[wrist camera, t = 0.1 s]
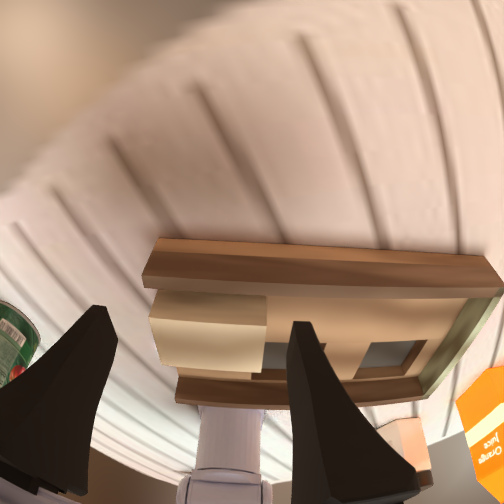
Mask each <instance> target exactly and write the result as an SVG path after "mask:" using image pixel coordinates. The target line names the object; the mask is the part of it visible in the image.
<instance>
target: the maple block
mask: <svg viewBox="0 0 504 504" xmlns="http://www.w3.org/2000/svg"><path fill="white" fill-rule="evenodd" d="M148 318H149V322H150V326H151V329H152V333H153V337H154V340H155V344H156V347H157V351H158V354H159V358H160V361H161V364H162V365H168V366H176V367H186V368H196V369H208V370H221V371H236V372H257V373H261V369H262V361H263V353H264V344H265V336H266V328H267V307H266V296H262V295H242V294H224V293H208V292H192V291H178V290H165V289H158V291H157V294H156V297H155V300H154V303H153V305H152V308H151V311H150V314H149V317H148Z"/></svg>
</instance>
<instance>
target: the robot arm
mask: <svg viewBox="0 0 504 504" xmlns="http://www.w3.org/2000/svg"><path fill="white" fill-rule="evenodd" d="M117 343H118V338H117V335H116V332H115V330H114V327H113V324H112V322H111V319H110V316H109V313H108V311H107V308H106V306H99V305H92V306H91V307H90V308H89V309H88V310H87V311H86V312H85V313H84V314H83V315H82V316H81V317H80V318H79V319H78V320H77V321H76V322H75V324H74V325H73V326H72V327H71V328H70V329H69V330H68V331H67V332H66V333H65V334H64V335H63V336H62V337H61V338H60V339H59V340H58V341H57V342H56V343H55V344H54V345H53V346H52V347H51V348H50V349H49V350H48V351H47V352H46V353H45V354H44V355H43V356H42V357H40V358H39V359H38V360H37V361H36V362H35V363H34V364H33V365H31V366H30V367H29V368H28V369H26V370H25V371H24V372H23V373H21V374H20V375H19V376H17V377H16V378H14V379H13V380H12V381H10V382H9V383H7V384H6V385H5V386H3V387H1V388H0V504H81V503H78V502H75V501H72V500H70V499H67V498H65V497H62V496H60V495H57V494H58V491H59V492H61V493H64V494H66V492H67V491H68V492H70V493H73V494H76V495H79V496H84V495H86V494H87V493H88V487H87V486H88V461H89V450H90V443H91V436H92V430H93V425H94V419H95V415H96V411H97V407H98V404H99V401H100V398H101V395H102V392H103V389H104V387H105V384H106V381H107V378H108V375H109V372H110V370H111V367H112V364H113V361H114V356H115V352H116V348H117ZM286 379H287V388H288V396H289V405H290V413H291V422H292V433H293V471H292V498H291V504H404V503H403V501H405V500H407V499H409V498H411V497H414V496H416V495H417V494H419V492H420V491H421V488H420V482H419V478H418V475H417V472H416V469H415V467H413V466H412V465H411V464H410V463H409V462H408V461H406V460H405V459H404V458H403V457H402V456H401V455H400V454H398V453H397V452H396V451H395V450H394V449H393V448H392V447H391V446H390V445H389V444H388V443H387V442H386V441H385V440H384V439H383V437H382V436H381V435H380V434H379V433H378V432H377V431H376V430H375V429H374V427H373V426H372V425H371V424H370V423H369V422H368V420H367V419H366V418H365V417H364V415H363V414H362V413H361V411H360V410H359V409H358V407H357V406H356V405H355V403H354V402H353V400H352V399H351V397H350V396H349V394H348V393H347V391H346V390H345V388H344V387H343V385H342V383H341V382H340V380H339V378H338V377H337V375H336V373H335V371H334V370H333V368H332V366H331V364H330V362H329V360H328V358H327V356H326V354H325V352H324V350H323V348H322V346H321V344H320V342H319V340H318V337H317V335H316V333H315V330H314V328H313V325H312V323H311V322H310V321H293V325H292V330H291V334H290V339H289V344H288V348H287V353H286ZM197 406H198V410H199V415H200V419H201V424H200V432H199V441H198V449H197V458H196V466H195V470H192V471H191V476H190V475H187V476H185V477H184V478H183V479H182V480H181V481H180V483H179V486H178V490H177V497H176V504H273V496H272V495H273V493H272V486H271V485H270V484H269V483H268V481H266V480H262V483H261V474H260V431H261V429H262V424H263V418H264V413H265V410H263V409H239V408H223V407H210V406H200V405H197Z"/></svg>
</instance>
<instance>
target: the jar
mask: <svg viewBox="0 0 504 504" xmlns="http://www.w3.org/2000/svg"><path fill="white" fill-rule="evenodd" d="M376 431H377V432H378V433H379V434H380V435H381V436H382V437H383V439H384V440H385V441H386V442H387V443H388V444H389V445H390V446H391V447H392V448H393V449H394V450H395V451H396V452H397V453H398V454H400V455H401V456H402V457H403V458H404V459H405V460H406V461H408V462H409V463H410V464H411V465H412V466H413V467H415V469H416V472H417V475H418V478H419V482H420V488H421V491H423V490H426V489H428V488H430V487H431V486H433V478H432V474H431V471H430V470H431V463H430V459H429V454H428V450H427V445H426V441H425V436H424V432H423V428H422V424H421V420H420V418H419V417H417V418H408V419H398V420H395V421H393V422H391V423H389V424H387V425H385V426H382V427H380V428H378V429H376ZM421 491H420V492H421Z"/></svg>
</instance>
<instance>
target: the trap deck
mask: <svg viewBox="0 0 504 504" xmlns="http://www.w3.org/2000/svg"><path fill="white" fill-rule="evenodd" d="M141 276H142V280H143V285H144V288H152V289H165V290H178V291H192V292H208V293H224V294H242V295H262V296H266V307H267V328H266V336H265V344H264V353H263V361H262V369H261V373H257V372H236V371H221V370H208V369H196V368H186V367H176V368H177V372H178V376H179V378H178V383H177V388H176V393H175V401H176V403H181V404H190V405H200V406H210V407H223V408H239V409H263V410H290V405H289V396H288V388H287V379H286V353H287V348H288V344H289V339H290V334H291V330H292V325H293V321H310V322H311V323H312V325H313V328H314V330H315V333H316V335H317V337H318V340H319V342H320V344H321V346H322V348H323V350H324V352H325V354H326V356H327V358H328V360H329V362H330V364H331V366H332V368H333V370H334V371H335V373H336V375H337V377H338V378H339V380H340V382H341V383H342V385H343V387H344V388H345V390H346V391H347V393H348V394H349V396H350V397H351V399H352V400H353V402H354V403H355V405H356V406H357V407H366V406H377V405H386V404H395V403H403V402H410V401H417V400H423V399H428V398H429V396H430V395H431V394H432V393H433V392H434V391H435V389H436V388H437V387H438V386H439V385H440V384H441V382H442V381H443V380H444V379H445V377H446V376H447V375H448V374H449V373H450V371H451V370H452V369H453V367H454V366H455V365H456V364H457V362H458V361H459V360H460V358H461V357H462V356H463V354H464V353H465V352H466V350H467V349H468V347H469V346H470V345H471V343H472V342H473V340H474V339H475V338H476V336H477V335H478V333H479V332H480V330H481V329H482V327H483V326H484V324H485V323H486V321H487V320H488V318H489V317H490V315H491V313H492V312H493V310H494V309H495V307H496V305H497V304H498V302H499V300H500V299H501V297H502V295H503V293H504V282H503V281H502V280H501V278H500V277H499V275H498V274H497V273H496V271H495V270H494V269H493V267H492V266H491V264H490V263H489V262H488V261H487V259H486V258H485V257H484V256H471V255H456V254H441V253H425V252H409V251H393V250H377V249H360V248H343V247H325V246H307V245H289V244H270V243H250V242H230V241H210V240H189V239H167V238H158V240H157V242H156V244H155V246H154V249H153V251H152V253H151V255H150V257H149V259H148V262H147V264H146V266H145V268H144V271H143V273H142V275H141Z"/></svg>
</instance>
